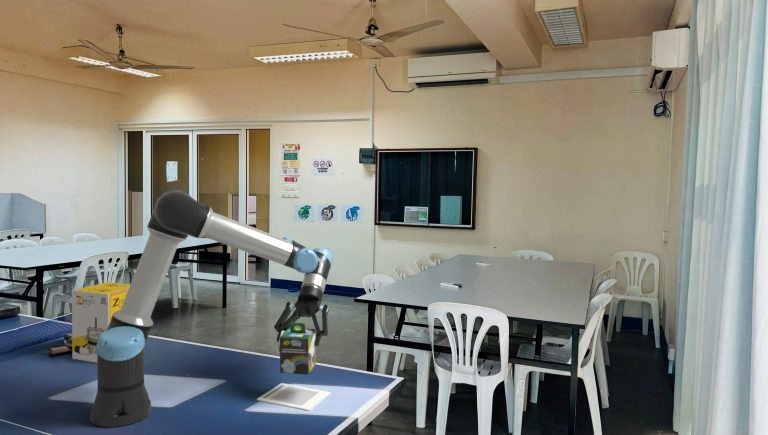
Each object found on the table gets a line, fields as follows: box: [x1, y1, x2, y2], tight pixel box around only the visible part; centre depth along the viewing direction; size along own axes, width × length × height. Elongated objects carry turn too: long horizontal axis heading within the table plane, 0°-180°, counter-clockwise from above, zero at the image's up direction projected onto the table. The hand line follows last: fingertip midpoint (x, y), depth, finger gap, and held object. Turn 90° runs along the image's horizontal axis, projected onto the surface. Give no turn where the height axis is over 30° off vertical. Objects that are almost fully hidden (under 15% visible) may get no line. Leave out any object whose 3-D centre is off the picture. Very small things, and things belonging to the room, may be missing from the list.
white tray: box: [256, 382, 332, 412], centre depth 165 cm, size 14×18×1 cm
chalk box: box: [279, 322, 317, 376], centre depth 164 cm, size 9×9×15 cm
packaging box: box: [71, 282, 130, 364], centre depth 196 cm, size 16×16×25 cm
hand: (294, 353), depth 161 cm, fingers closed on chalk box, 9 cm apart
